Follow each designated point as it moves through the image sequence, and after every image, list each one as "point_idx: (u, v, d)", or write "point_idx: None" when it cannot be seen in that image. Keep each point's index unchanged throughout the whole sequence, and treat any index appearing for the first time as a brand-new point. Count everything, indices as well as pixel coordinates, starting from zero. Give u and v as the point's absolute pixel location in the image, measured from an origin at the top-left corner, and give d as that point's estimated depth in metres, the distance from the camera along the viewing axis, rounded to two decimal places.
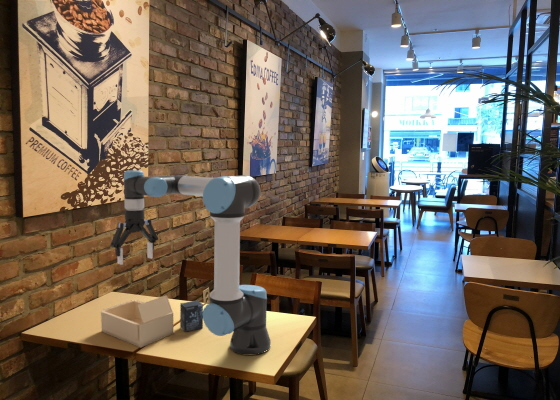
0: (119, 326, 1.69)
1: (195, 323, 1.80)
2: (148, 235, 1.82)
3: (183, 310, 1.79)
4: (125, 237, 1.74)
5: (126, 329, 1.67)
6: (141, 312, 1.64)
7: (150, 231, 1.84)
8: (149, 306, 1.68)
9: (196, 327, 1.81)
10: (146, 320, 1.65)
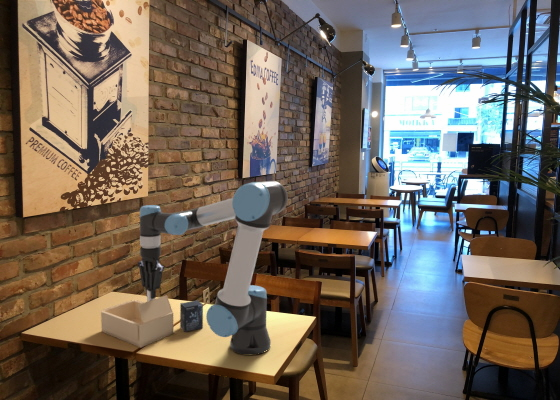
0: (119, 326, 1.69)
1: (195, 323, 1.80)
2: (150, 280, 1.68)
3: (183, 310, 1.79)
4: (146, 276, 1.69)
5: (126, 329, 1.67)
6: (141, 312, 1.64)
7: None
8: (149, 306, 1.68)
9: (196, 327, 1.81)
10: (146, 320, 1.65)
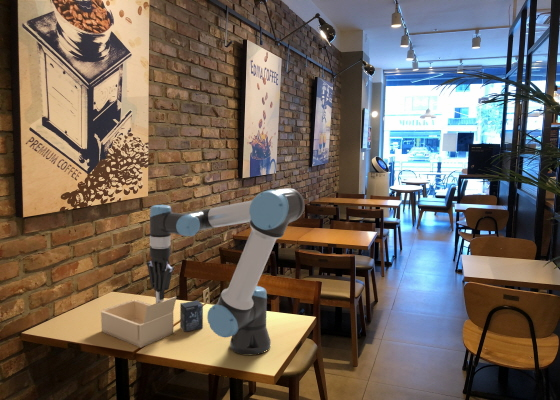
0: (119, 326, 1.69)
1: (195, 323, 1.80)
2: (159, 281, 1.65)
3: (183, 310, 1.79)
4: (155, 277, 1.67)
5: (126, 329, 1.67)
6: (147, 314, 1.63)
7: None
8: (156, 308, 1.66)
9: (196, 327, 1.81)
10: (147, 321, 1.64)
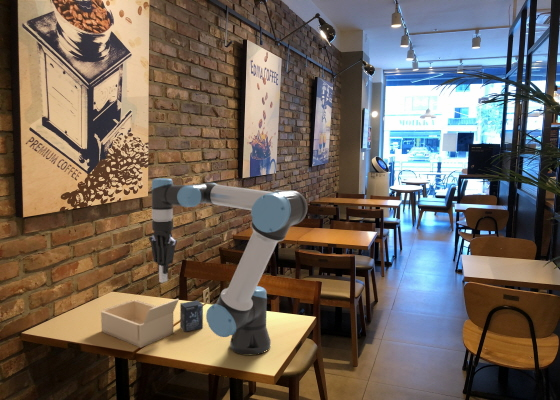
0: (119, 326, 1.69)
1: (195, 323, 1.80)
2: (162, 254, 1.64)
3: (183, 310, 1.79)
4: (158, 251, 1.66)
5: (126, 329, 1.67)
6: (148, 315, 1.62)
7: None
8: (158, 310, 1.65)
9: (196, 327, 1.81)
10: (147, 321, 1.64)
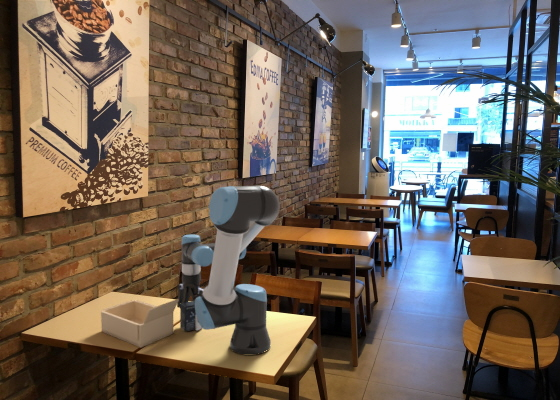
0: (119, 326, 1.69)
1: (195, 323, 1.80)
2: None
3: (183, 310, 1.79)
4: (183, 299, 1.82)
5: (126, 329, 1.67)
6: (148, 315, 1.62)
7: None
8: (158, 310, 1.65)
9: None
10: (147, 321, 1.64)
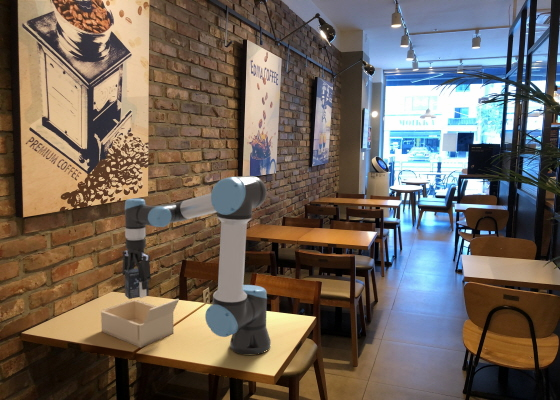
0: (119, 326, 1.69)
1: None
2: (139, 271, 1.71)
3: (127, 276, 1.72)
4: (128, 266, 1.75)
5: (126, 329, 1.67)
6: (148, 315, 1.62)
7: None
8: (158, 310, 1.65)
9: None
10: (147, 321, 1.64)
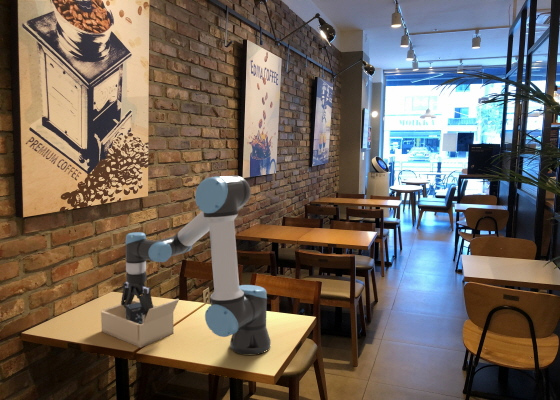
0: (119, 326, 1.69)
1: None
2: (141, 304, 1.72)
3: (128, 312, 1.73)
4: (127, 298, 1.77)
5: (126, 329, 1.67)
6: (148, 315, 1.62)
7: None
8: (158, 310, 1.65)
9: None
10: (147, 321, 1.64)
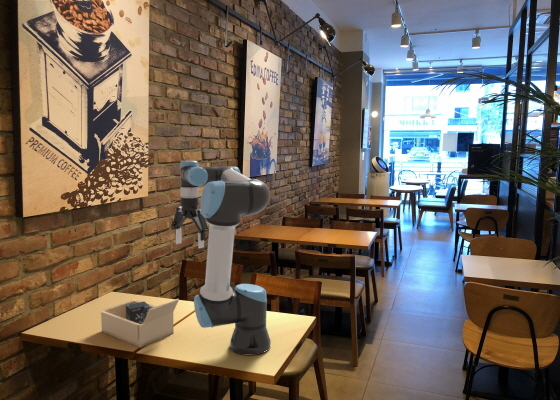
0: (119, 326, 1.69)
1: None
2: (196, 224, 1.87)
3: (128, 312, 1.73)
4: (179, 220, 1.93)
5: (126, 329, 1.67)
6: (148, 315, 1.62)
7: None
8: (158, 310, 1.65)
9: None
10: (147, 321, 1.64)
